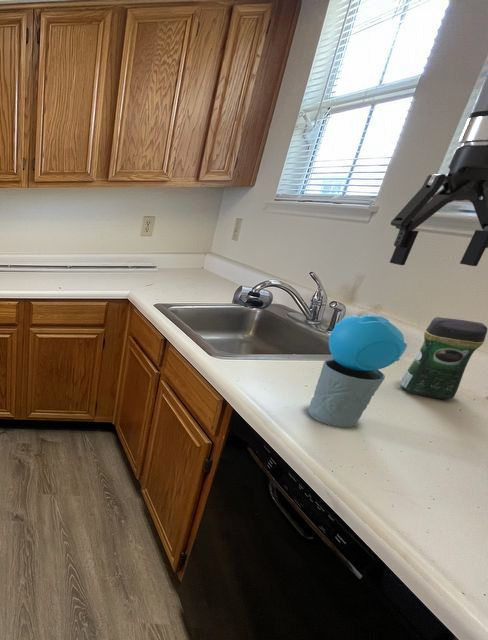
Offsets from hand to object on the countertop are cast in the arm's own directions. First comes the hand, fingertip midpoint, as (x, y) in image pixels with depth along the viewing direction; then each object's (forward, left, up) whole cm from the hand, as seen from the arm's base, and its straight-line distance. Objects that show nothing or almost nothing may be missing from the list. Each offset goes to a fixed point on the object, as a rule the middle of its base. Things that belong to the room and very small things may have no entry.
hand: (432, 264), depth 84 cm
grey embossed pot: (+6, +14, -32) cm, 36 cm away
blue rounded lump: (+6, +14, -20) cm, 25 cm away
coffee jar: (-10, -17, -32) cm, 38 cm away
